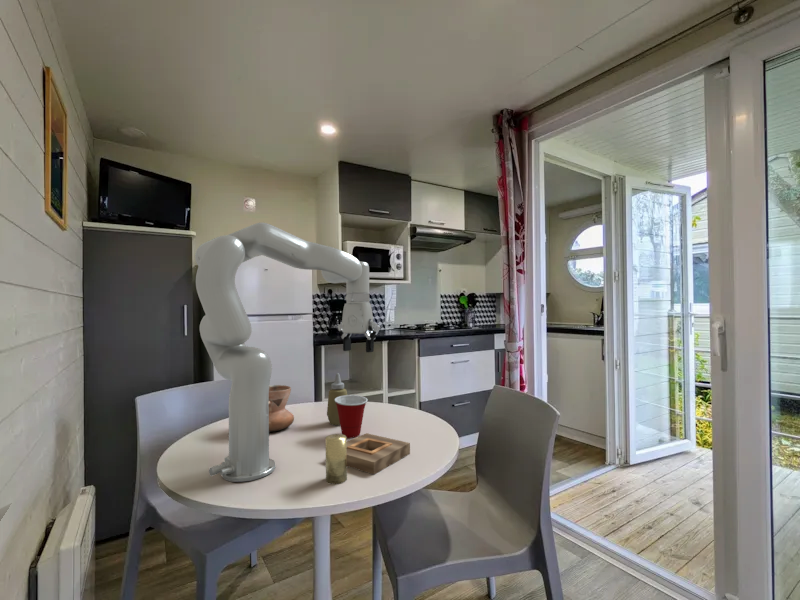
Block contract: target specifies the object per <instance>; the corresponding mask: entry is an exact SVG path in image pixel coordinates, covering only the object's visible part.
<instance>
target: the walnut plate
mask: <svg viewBox="0 0 800 600" xmlns="http://www.w3.org/2000/svg"><path fill="white" fill-rule="evenodd" d="M346 442H347V468H348V467H349V468H351V469H355V470H358V471H361V472H363V473H364V472H365V473H368V474H371V475H376V474H377V473H380V472H382V471H383V470H384V469H386V468H388V467H390V466H392V465H393V464H395V463H397V462H399V461H400V460H402V459H404V458H405V457H407V456H408V455H410V454H411V442H408V441H403V440H398V439H393V438H389V437H387V436H385V437H384V436H382V435H381V436H380V435H377V434H372V433H369V432H368V433H367V432H366V433H364V434H361V435H359V436H357V437H353V438H352V439H349V440H346Z"/></svg>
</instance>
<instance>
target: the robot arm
mask: <svg viewBox="0 0 800 600" xmlns="http://www.w3.org/2000/svg"><path fill="white" fill-rule="evenodd" d="M261 256H264V257H267V258H269V259H272V260H274V261H277V262H279V263H282V264H284V265H287V266H289V267H292V268H294V269H300V270H309V271H310V270H314V271H321V276H322V278H323V279H324V280H325V281H326V282H327V283H331V284H340V283H342V284H344V283H345V284H346V285H345V286H346V287H345V288H346V296H345V297H344V299H345V301H346V303H344V306H343V310H342V318H341V319H342V320H341V321H342V322H341V323H340V324H338V325H337V330H338V331H339V335H340V337H341V339H342V347H343V348H342V350H343V352H350V351H351V350H352V339H351V338H350V337H351V336H352V334H354V335H362V334H363V335H364V336H365V337H366V338H367V339H366V340H365V352H366V353H374V349H375V346H374V345H375V344H374V343H375V342H374V340H376V337H377V336H378V334H379V332H380V329H381V326H380V324H378V323H376V322H375V321H374V315H373V310H372V304H371V303H370V266H369V263H368V262H366V261H360V260H359V259H358V258H357V257H356V256H354V255H351V254H350V253H348V252H346V251H344V250H341V249H339V248H336V247H333V246H330V245H324V244H320V243H317V242H313V241H308V240H305V239H303V238H302V237H298V236H297V235H294V234H293V233H290V232H287V231H286V230H284V229H281V228H279V227H277V226H275V225H272V224H270V223H267V222H257V223H253V224H251V225H249V226H246V227H244V228H241V229H238V230H237V231H234V232H232V233H229V234H226V235H225V234H224V235H220V236H217V237H214V238H212V239H211V240H208V241H205V242H203V243H201V244H200V245H199V246H198V247H197V248H196V250H195V254H194V258H195V259H194V260H195V264H196V265H197V270H196V275H195V288H196V293H197V295H198V298H199V301H200V303H201V306H202V308H203V311H204V313H205V315H204V316H203V317H202V319H201V321H200V324H199V333H200V334H199V335H200V338H201V340H202V342H203V345H204V347H205V349H206V351H207V353H208V355H209V358H210V360H211V362H212V363H213V367H214V368H215V370H216V371H217V373H218V374H219V375H220V376H221V377H222V378H224V379H225V380H228V381H230V382H231V386H230V391H229V395H228V396H229V397H228V456H225V457H224V461H222V462H221V464H219V465H214V466H211V467H209V468H208V473H209V476H210V477H213V476H216V475H220V476H221V477H222V479H224V480H226V481H228V482H233V483H241V482H242V483H243V482H249V481H250V482H251V481H255V480H258V479H261V478H264V477H266V476H268V475H270V474H271V473H273V472H274V471H275V469H276V461H275V460H274V459H272V458H270V432H269V385H270V383H271V378H272V370H273V368H272V367H273V366H272V365H273V364H272V361H271V358H270V357H269V355H268V353H267V352H265V351H264V350H262V349H261V348H258V347H255V346H248V345H247V346H246V344H245V343H247V341H248V340H249V339H250V337H251V335H252V332H253V331H252V329H253V328H252V324H251V321H250V319H249V316H248V314H247V312H246V308H245V307H244V305H243V302H242V300H241V298H240V296H239V293H238V290H237V289H238V288H237V286H236V275H237V272H238V269H239V267H241V264H243V263H245V262H247V261H249V260H251V259H254V258H256V257H261Z"/></svg>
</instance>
